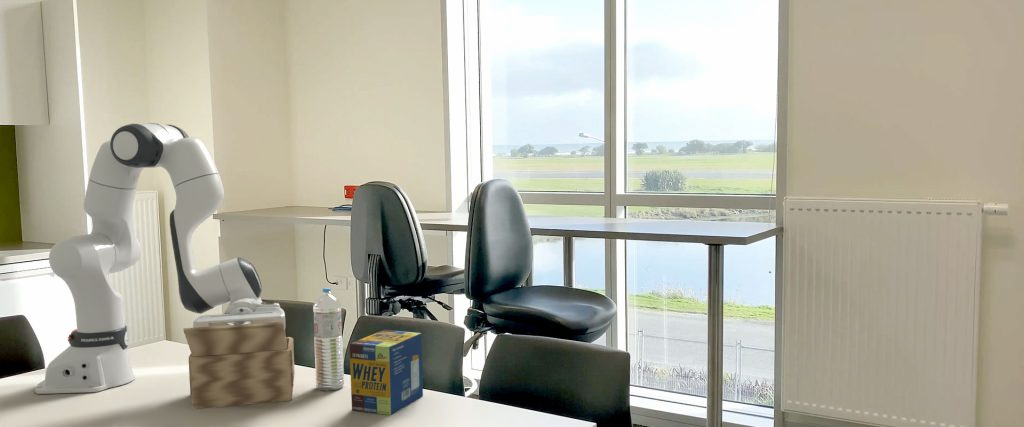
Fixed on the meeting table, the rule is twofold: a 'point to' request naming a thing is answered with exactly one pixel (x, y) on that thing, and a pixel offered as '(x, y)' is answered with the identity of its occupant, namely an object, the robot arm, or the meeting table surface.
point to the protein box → (386, 371)
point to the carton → (242, 378)
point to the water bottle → (328, 342)
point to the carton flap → (236, 339)
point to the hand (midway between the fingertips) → (237, 330)
